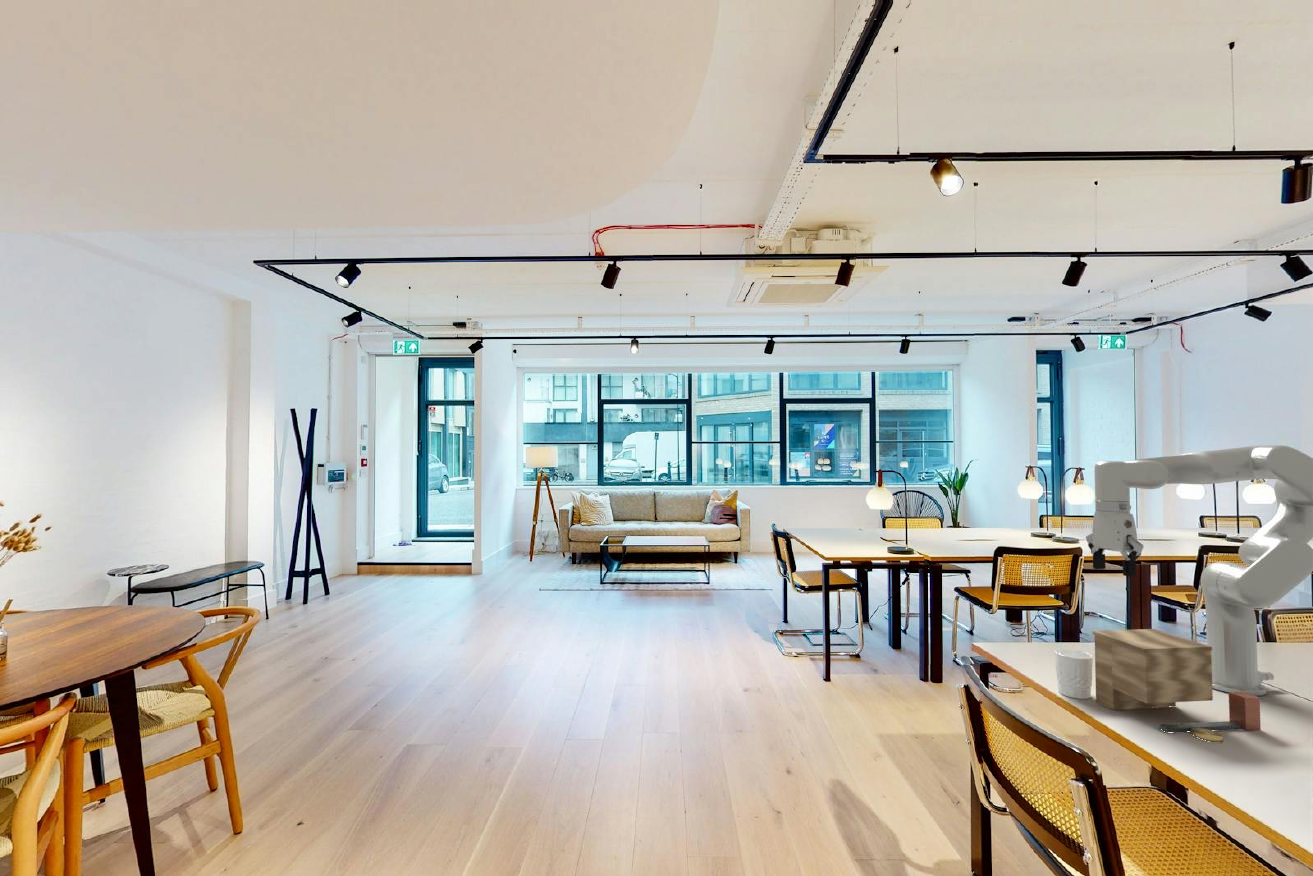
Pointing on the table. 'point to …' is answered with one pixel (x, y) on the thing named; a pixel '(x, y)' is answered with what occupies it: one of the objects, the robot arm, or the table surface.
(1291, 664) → the table surface
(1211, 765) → the table surface
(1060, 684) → the white cup
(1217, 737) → the brass token
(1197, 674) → the oak bench cabinet
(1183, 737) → the table surface
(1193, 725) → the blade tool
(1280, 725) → the table surface
